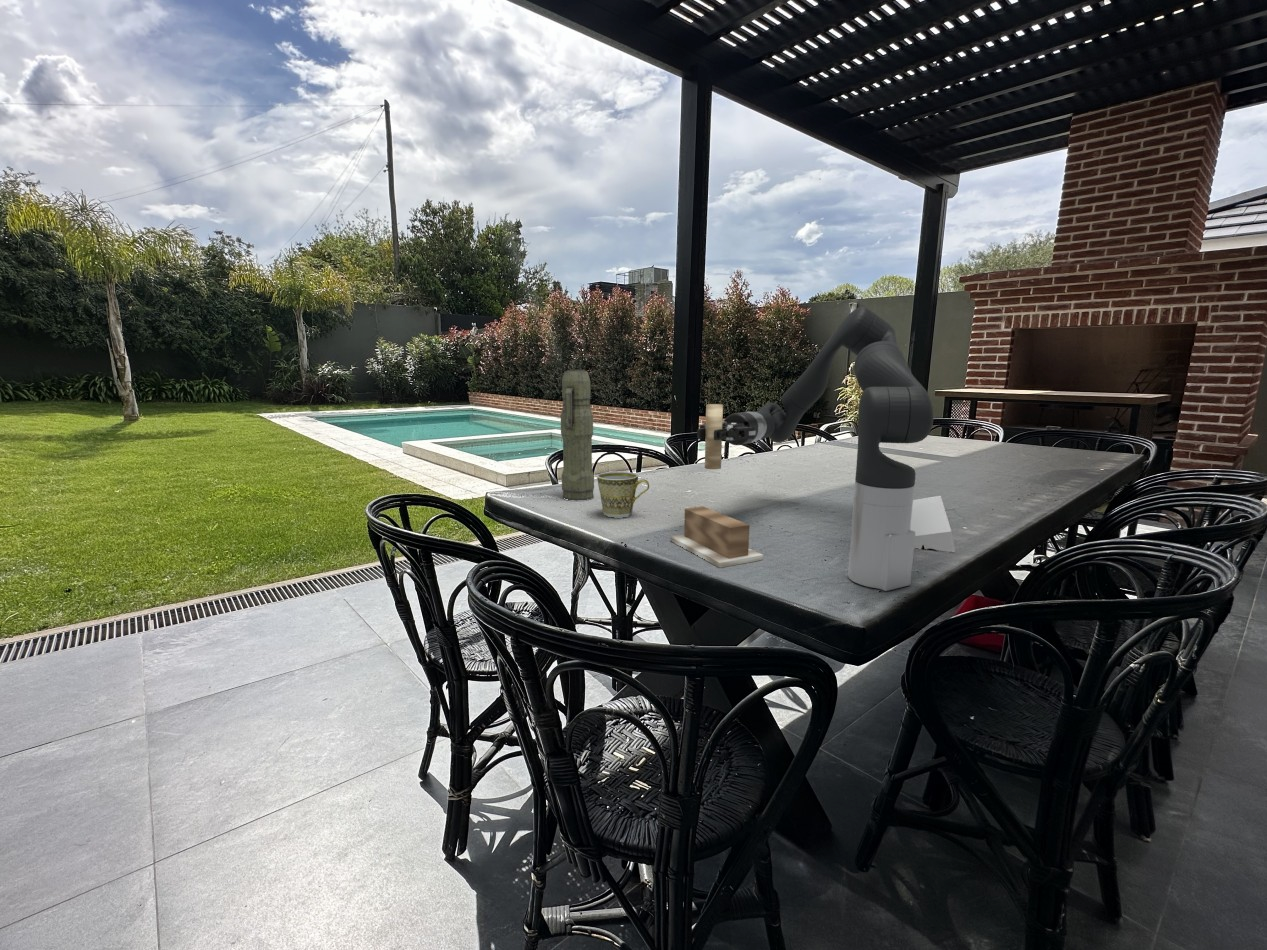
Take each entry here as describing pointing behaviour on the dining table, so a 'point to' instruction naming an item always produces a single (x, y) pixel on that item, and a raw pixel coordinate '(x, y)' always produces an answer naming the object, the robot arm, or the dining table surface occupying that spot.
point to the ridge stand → (716, 538)
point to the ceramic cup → (618, 492)
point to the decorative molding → (931, 524)
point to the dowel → (713, 446)
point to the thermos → (577, 436)
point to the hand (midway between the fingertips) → (707, 434)
